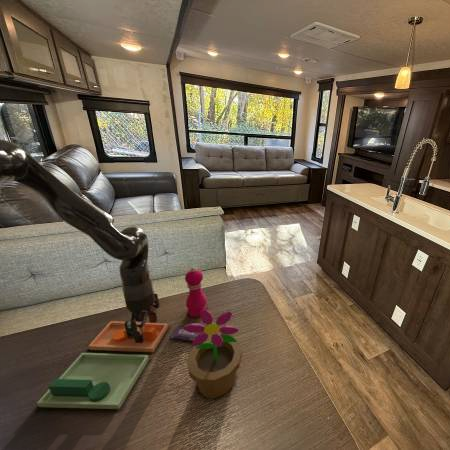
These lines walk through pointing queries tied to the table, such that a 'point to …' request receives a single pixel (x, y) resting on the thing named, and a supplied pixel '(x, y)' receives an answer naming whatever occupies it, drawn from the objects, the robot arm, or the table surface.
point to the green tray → (100, 379)
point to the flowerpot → (214, 355)
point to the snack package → (184, 334)
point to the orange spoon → (121, 335)
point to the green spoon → (79, 389)
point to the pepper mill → (195, 293)
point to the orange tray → (107, 343)
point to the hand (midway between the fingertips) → (147, 331)
